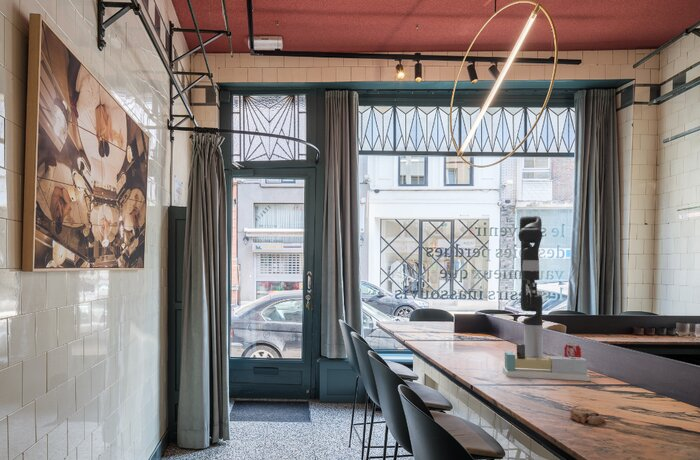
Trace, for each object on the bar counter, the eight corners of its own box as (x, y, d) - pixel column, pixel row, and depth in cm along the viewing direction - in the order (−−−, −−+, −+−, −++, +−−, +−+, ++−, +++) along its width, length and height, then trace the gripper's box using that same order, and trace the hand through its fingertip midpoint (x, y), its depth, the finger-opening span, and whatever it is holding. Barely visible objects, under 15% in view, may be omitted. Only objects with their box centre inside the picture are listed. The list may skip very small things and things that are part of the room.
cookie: (592, 414, 154) (592, 405, 154) (611, 425, 143) (610, 415, 144) (562, 414, 154) (562, 405, 154) (579, 425, 143) (578, 415, 143)
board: (502, 370, 216) (502, 365, 216) (581, 374, 210) (581, 369, 210) (506, 376, 204) (506, 371, 205) (590, 380, 198) (590, 376, 198)
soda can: (584, 372, 215) (583, 345, 215) (568, 372, 215) (568, 345, 216) (577, 368, 222) (576, 343, 223) (562, 368, 222) (561, 342, 223)
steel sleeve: (548, 369, 210) (548, 356, 210) (582, 371, 207) (582, 357, 208) (552, 372, 204) (551, 358, 204) (587, 374, 201) (586, 360, 202)
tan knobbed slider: (508, 365, 212) (508, 343, 213) (556, 368, 208) (556, 345, 209) (510, 367, 208) (509, 344, 209) (559, 370, 205) (558, 346, 205)
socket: (504, 366, 214) (504, 351, 215) (512, 367, 214) (512, 351, 214) (507, 370, 206) (507, 354, 207) (515, 371, 206) (515, 355, 206)
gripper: (520, 269, 232) (520, 302, 231) (525, 270, 218) (525, 305, 217) (535, 269, 231) (536, 303, 230) (542, 270, 217) (542, 305, 216)
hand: (531, 304), depth 224 cm, fingers open, 8 cm apart
